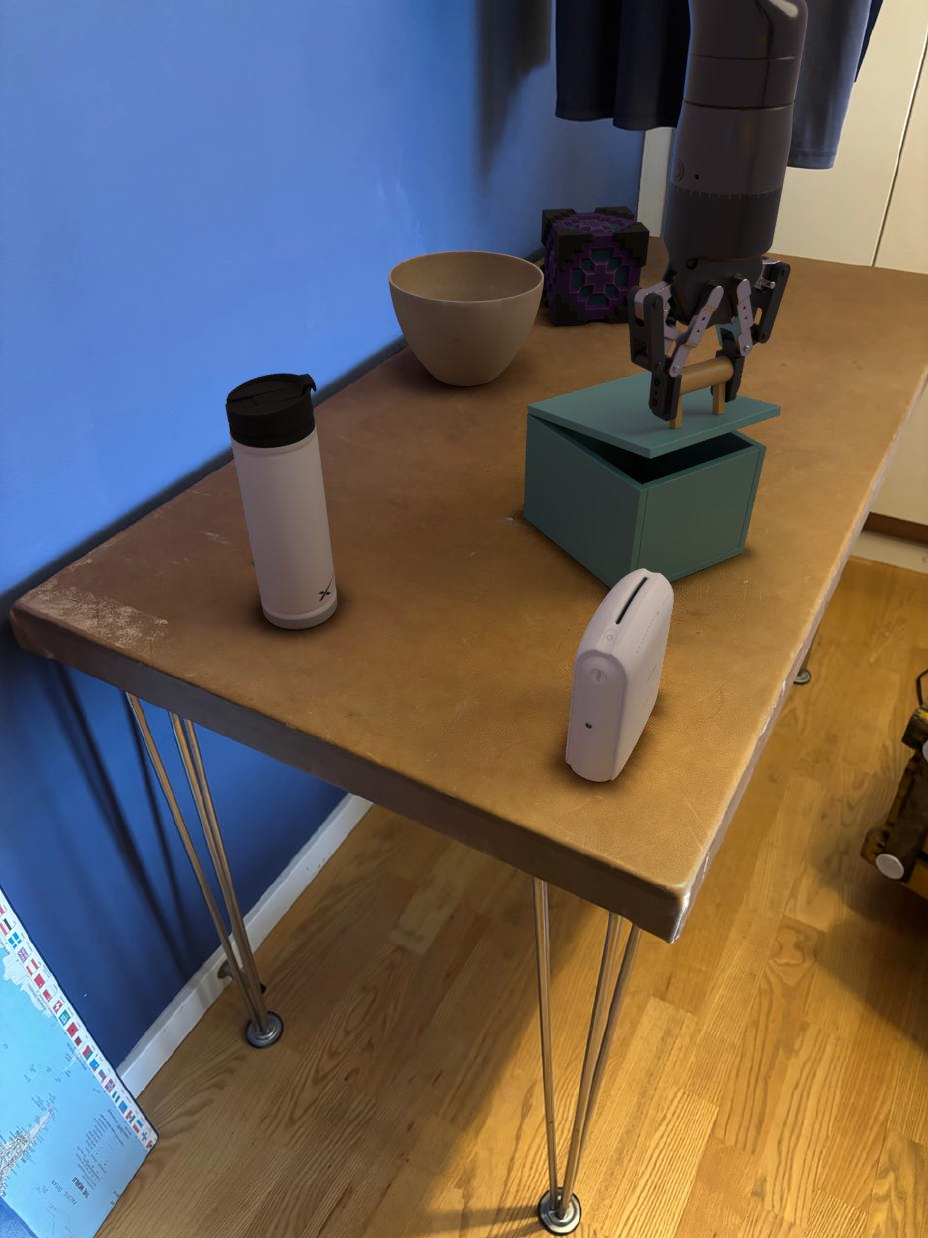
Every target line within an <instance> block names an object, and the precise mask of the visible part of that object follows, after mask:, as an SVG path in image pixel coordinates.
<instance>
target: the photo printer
mask: <svg viewBox="0 0 928 1238" xmlns="http://www.w3.org/2000/svg"><path fill="white" fill-rule="evenodd" d="M674 601H675V593H674V589H673V587H672V585H671V584H670V583H669V582H668V580H667V579H666V578H665V577H664V576H663V575H662V574H660V573H653V572H650V571H648V570H646V569H638V570H636V571H633V572H631V573H630V574H628V575H626V576H625V577H624V578H622V579H621V580H620V581H619V582H618V583H617V584H616V585H615V586H614V587H613V589H610V591H609V592H608V593H607V595H606V596H605V597H604V598H603V600H602V601H601V603H600V605H599V606H598V607H597V609H596V610H595V612H594V613H593V615H592V617H591V618H590V621H589V623H588V624H587V626H586V628H585V629H584V632H583V634H582V636H581V639H580V642H579V645H578V647H577V650H576V654H575V657H574V658H575V660H574V663H573V673H572V674H573V675H572V682H571V683H572V684H571V694H570V695H571V696H570V708H569V718H568V726H567V727H568V729H567V737H566V739H567V740H566V747H565V748H566V749H565V762H566V764H568V765H570V768H571V769H572V771H573V772H574V773H575V774H576V775H578V776H579V777H581V778H583V779H585V780H588V781H593V782H599V783H601V782H602V783H603V782H607V781H609V780H610V781H614V780H615V779H616V778H617V777H618V776H619V774H620V773H621V771H623V768H625V765H626V764H627V762H628V760H629V758H630V756H631V755H632V753H633V751H634V749H635V747H636V745H637V743H638V741H639V739H640V737H641V735H642V733H643V731H644V729H645V727H646V725H647V723H648V720H649V718H650V717H651V713H652V712H653V710H654V706H655V704H656V701H657V697H658V694H659V688H660V683H661V678H662V673H663V667H664V661H665V656H666V650H667V643H668V639H669V638H668V637H669V632H670V626H671V620H672V615H673V610H674V604H675V603H674Z"/></svg>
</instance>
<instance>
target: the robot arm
mask: <svg viewBox="0 0 928 1238" xmlns="http://www.w3.org/2000/svg"><path fill="white" fill-rule="evenodd" d="M687 1H688V2H687V3H688V11H689V25H690V26H689V27H690V31H689V33H690V34H689V41H688V48H687V51H688V52H687V60H686V67H685V77H684V78H685V79H684V86H683V87H684V88H683V93H682V95H683V96H682V97H683V99H682V101H681V109H680V114H679V117H678V122H677V126H676V130H675V135H674V142H673V148H672V149H673V150H672V158H671V168H670V169H671V170H670V177H669V185H668V186H669V187H668V194H667V205H666V213H665V223H664V232H663V243H664V245H665V247H666V251H667V254H668V262H667V264H666V268H665V270H664V272H663V274H662V276H661V278H660V279H661V280H660V282H657V283H655V284H653V285H651V286H649V287H646V288H644V287H641V286H640V285H639V286H640V287H639V286H633V287H632V288H631V289H630V290H629V293H628V314H629V322H628V331H629V350H630V351H629V352H630V361H631V363H632V364H633V365H636V366H637V367H640V368H642V369H643V370H645V371H649V372H652V376H651V385H650V394H649V396H650V397H649V403H648V404H649V408H650V410H652V413H653V414H654V415H655V416H657V417H659V418H661V419H662V420H664V421H670V420H673V419H675V418H676V417H677V410H678V403H679V395H680V388H681V380H682V375H680V373H681V371H682V368H683V367H685V364H686V361H687V359H688V356H689V354H690V352H691V350H692V349H696V348H697V347H698V346H699V345H700V343H701V340H702V338H703V335H704V333H705V331H706V330H708V329H710V328H711V327H713V326H714V327H715V330H716V335H717V341H718V345H719V346H720V347H721V348H720V349H716V350H715V356H714V358H716V357H720V356H726V357H728V358H729V359H730V360H731V362H732V364H733V375H732V377H731V379H730V380H729V381H726V386H725V403H727V402H730V401H733V400H735V398H736V395H738V394H737V393H738V392H739V390H740V387H741V384H742V378H743V371H744V366H745V360H746V357H747V356H749V355H750V354H751V352H752V350H753V347H754V346H755V345H757V344H758V343H759V344H762V345H764V344H766V343H767V342H768V341H769V340H770V339H771V338H770V337H771V335H772V332H773V330H774V325H775V322H776V319H777V316H778V312H779V309H780V306H781V303H782V300H783V297H784V293H785V291H786V287H787V283H788V281H789V277H790V275H791V270H792V269H791V265H790V264H789V263H786V262H783V261H781V260H778V259H776V258H774V257H768V256H766V253H768V252H769V251H770V250H771V249H772V246H773V243H774V238H775V233H776V227H777V221H778V216H779V212H780V205H781V199H782V195H783V194H782V193H783V188H784V183H785V177H786V172H787V166H788V160H789V156H790V150H791V144H792V143H791V142H792V135H793V134H792V133H793V117H794V116H793V114H794V105H795V102H794V100H795V99H796V93H797V88H798V82H799V77H800V71H801V65H802V59H803V54H804V53H803V52H804V49H805V41H806V35H807V28H808V19H809V12H808V11H809V8H808V4H807V1H806V0H687ZM758 309H760V310H761V315H760V318H759V322H758V323H757V322H755V319H756V317H757V312H758ZM677 322H678V323H680V324H681V325H683V326H686V327H687V329H686V330H685V331H682V330H680V329H678V327H677ZM674 342H675V346H674V348H673V350H672V353H671V354H670V356H669V355H668V354H669V352H670V349H671V346H672V345H673V343H674ZM710 392H711V395H712V396H713V386H710Z"/></svg>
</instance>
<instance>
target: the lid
mask: <svg viewBox="0 0 928 1238" xmlns="http://www.w3.org/2000/svg"><path fill="white" fill-rule="evenodd" d="M680 375H682V380H681V388H680V395H679V403H678V410H677V417H676V418H675V419H673V420H670V421H664V420H662V419H661V418H659V417H657V416H655V415H654V414H653V413H652V410H650V408H649V404H648V403H649V397H650V396H649V394H650V385H651V376H652V372H650V371H648V370H644V371H641V372H638V373H634V374H630V375H627V376H623V377H620V378H617V379H613V380H610V381H605V382H602V383H599V384H595V385H592V386H588V387H585V388H581V389H578V390H575V391H570V392H568V393H564V394H560V395H557V396H554V397H549V398H546V399H542V400H540V401H535V402H532V403H529V404H526V407H527V409H526V410H527V414H531V415H534V416H537V417H539V418H542V419H545V420H548V421H550V422H553V423H556V424H558V425H561V426H564V427H566V428H569V429H572V430H574V431H577V432H580V433H582V434H585V435H588V436H590V437H593V438H596V439H598V440H601V441H604V442H606V443H609V444H612V445H614V446H617V447H620V448H622V449H625V450H628V451H630V452H633V453H636V454H639V455H641V456H644V457H647V458H649V459H651V458H654V457H657V456H660V455H663V454H666V453H669V452H672V451H675V450H678V449H681V448H684V447H687V446H690V445H693V444H696V443H699V442H702V441H705V440H707V439H710V438H713V437H716V436H719V435H722V434H725V433H728V432H731V431H734V430H737V431H738V430H740V429H743V428H746V427H749V426H752V425H756V424H758V423H761V422H764V421H767V420H770V419H772V418H777V417H779V416H781V406H780V405H779V404H775V403H770V402H767V401H763V400H759V399H756V398H751V397H748V396H743V395H739V394H736V398H735V400H733V401H730V402H727V403H725V386H726V381H729V380H730V379H731V377H732V375H733V364H732V362H731V360H730V359H729V358H728V357H726V356H720V357H716V358H715V357H713V358H710V359H706V360H702V361H699V362H697V363H692V364H688V365H684V366H683V368H682V371H681V373H680ZM711 386H713V396H712V395H711V392H710V388H711Z"/></svg>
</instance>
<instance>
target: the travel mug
mask: <svg viewBox="0 0 928 1238" xmlns="http://www.w3.org/2000/svg"><path fill="white" fill-rule="evenodd" d="M312 390H313V392H315V393H316V392H318V388H317V384H316V382H315V380H314V378H313V377H312V376H311V375H310V374H309V373H304V374H296V373H287V372H286V373H285V372H281V373H280V372H279V373H271V374H265V375H260V376H258V377H254V378H251V379H249V380H246V381H244V382H242V383H240V384H239V385H237V386H236V387H234V388H233V389H232V390H231V391H230V392H228V394H227V397H226V400H225V401H226V403H225V404H224V407H225V412H226V416H227V422H228V429H229V432H228V433H229V438H230V442H231V448H232V454H233V459H234V463H235V470H236V475H237V480H238V485H239V490H240V495H241V496H240V497H241V502H242V507H243V511H244V512H243V513H244V517H245V523H246V528H247V533H248V538H249V543H250V549H251V554H252V559H253V565H254V570H255V576H256V580H257V586H258V591H259V596H260V597H259V598H260V602H261V607H262V612H263V616H264V617H265V619H266V620H267V621H268V622H270V623H271V624H272V625H274V626H276V627H279V628H281V629H287V630H303V629H309V628H313V627H315V626H318V625H320V624H322V623H324V622H325V621H327V620H329V619H330V618H331V617H332V616H333V614H334V613H335V611H336V610H337V609H338V601H339V600H338V593H337V587H336V586H337V585H336V584H337V583H336V577H335V568H334V559H333V552H332V551H333V550H332V543H331V535H330V527H329V519H328V511H327V501H326V494H325V487H324V478H323V471H322V469H323V468H322V462H321V454H320V445H319V437H318V432H317V423H316V419H315V415H314V411H315V410H314V405H313V401H312Z"/></svg>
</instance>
